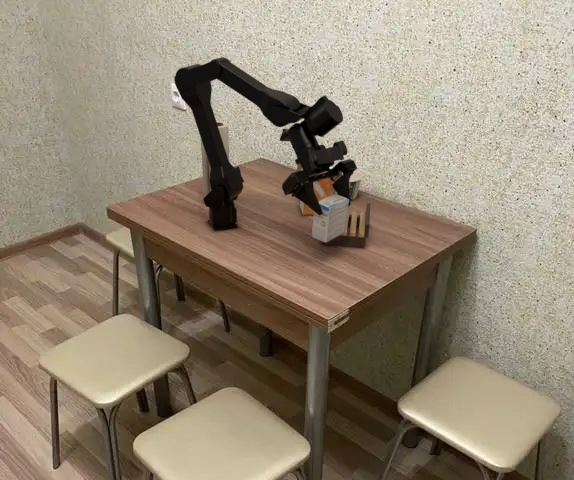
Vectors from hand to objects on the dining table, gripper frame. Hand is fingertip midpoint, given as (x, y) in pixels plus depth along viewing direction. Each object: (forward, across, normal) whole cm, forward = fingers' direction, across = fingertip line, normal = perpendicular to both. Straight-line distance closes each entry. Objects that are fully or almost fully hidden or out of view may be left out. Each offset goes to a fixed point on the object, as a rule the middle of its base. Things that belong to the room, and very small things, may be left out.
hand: (335, 210), depth 132 cm
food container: (-12, +32, +32) cm, 47 cm away
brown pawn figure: (-22, +29, +41) cm, 55 cm away
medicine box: (+4, 0, +6) cm, 7 cm away
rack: (+3, +14, +16) cm, 21 cm away
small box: (-9, +18, +28) cm, 35 cm away
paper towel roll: (-25, 0, +45) cm, 51 cm away
